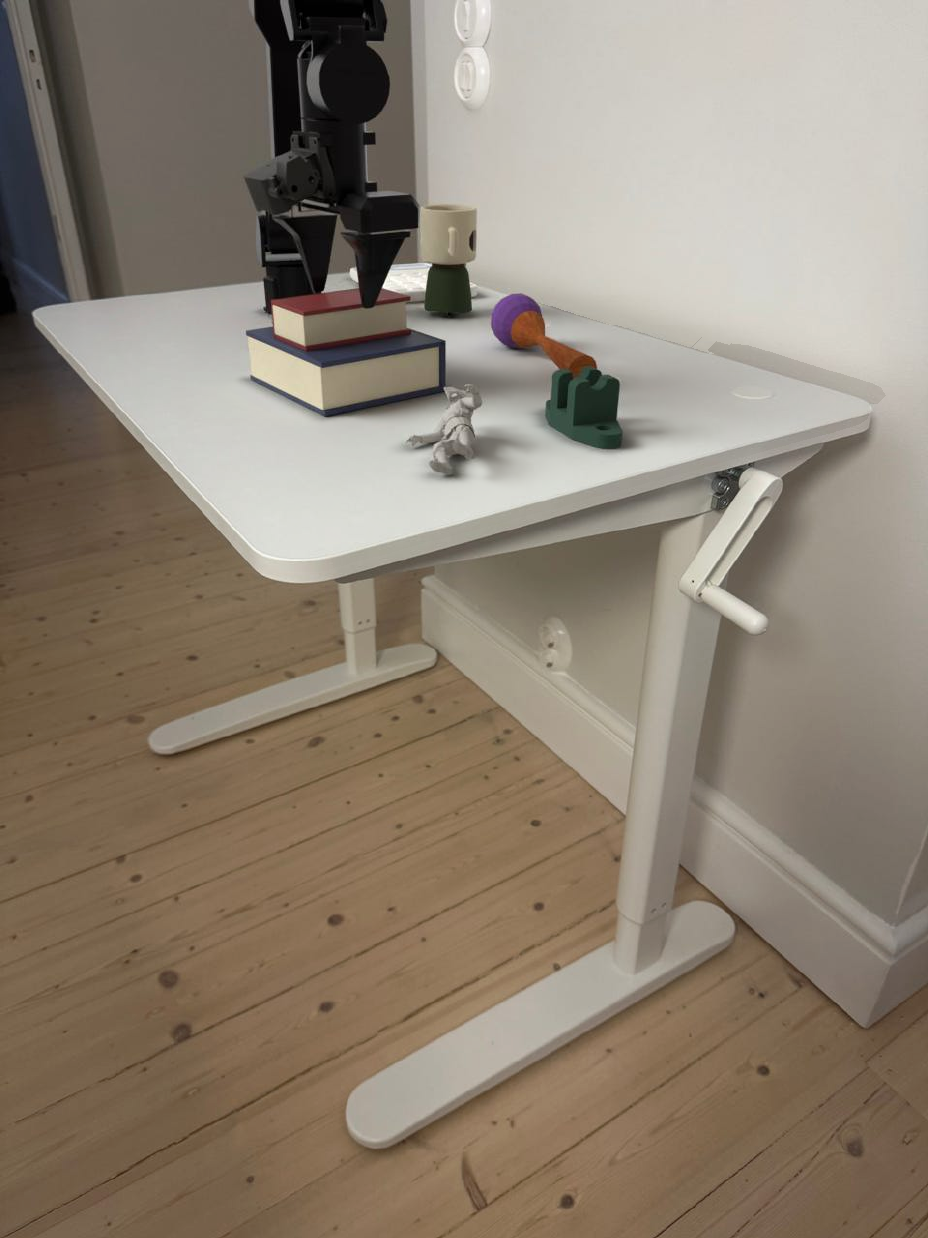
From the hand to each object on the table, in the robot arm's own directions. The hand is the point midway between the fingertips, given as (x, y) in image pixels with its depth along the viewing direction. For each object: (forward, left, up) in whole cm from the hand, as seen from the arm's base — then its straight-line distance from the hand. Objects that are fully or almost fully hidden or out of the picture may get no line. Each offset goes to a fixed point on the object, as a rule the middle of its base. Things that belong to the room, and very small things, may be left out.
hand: (342, 299), depth 93 cm
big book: (0, 0, -8) cm, 9 cm away
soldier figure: (+3, +22, -9) cm, 24 cm away
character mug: (-28, -20, -9) cm, 36 cm away
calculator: (-34, -37, -9) cm, 51 cm away
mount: (-10, +24, -9) cm, 27 cm away
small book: (0, 0, -4) cm, 4 cm away
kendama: (-22, +5, -9) cm, 24 cm away
